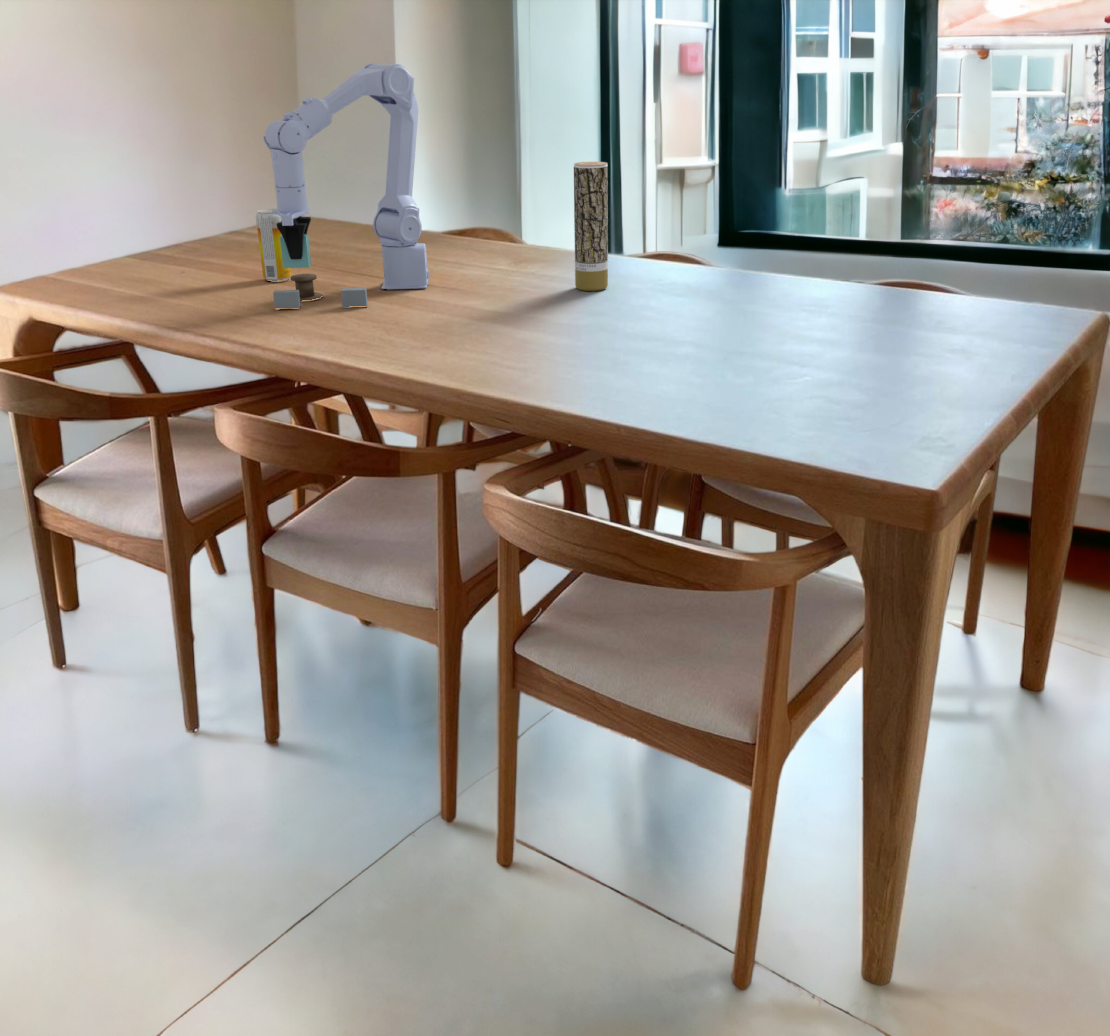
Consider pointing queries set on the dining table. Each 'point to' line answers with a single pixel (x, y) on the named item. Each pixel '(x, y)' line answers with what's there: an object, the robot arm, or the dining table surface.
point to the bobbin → (305, 286)
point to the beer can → (270, 246)
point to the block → (296, 263)
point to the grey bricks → (293, 301)
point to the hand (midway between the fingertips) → (297, 257)
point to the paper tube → (591, 225)
